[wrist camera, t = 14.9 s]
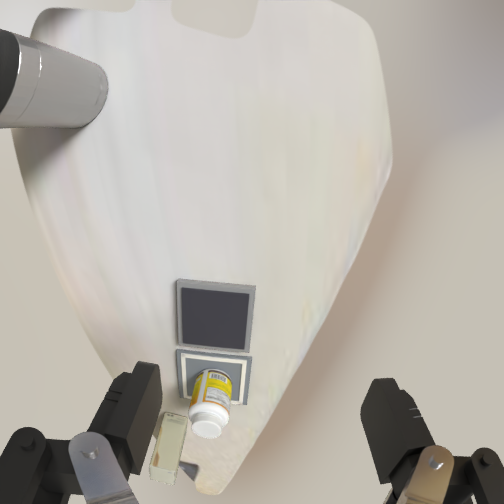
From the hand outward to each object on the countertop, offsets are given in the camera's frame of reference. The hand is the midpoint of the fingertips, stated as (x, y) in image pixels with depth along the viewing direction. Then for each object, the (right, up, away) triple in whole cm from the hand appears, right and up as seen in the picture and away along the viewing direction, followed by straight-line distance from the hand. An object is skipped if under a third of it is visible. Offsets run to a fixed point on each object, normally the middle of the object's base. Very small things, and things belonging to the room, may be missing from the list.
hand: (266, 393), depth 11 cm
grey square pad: (-6, -14, +35) cm, 38 cm away
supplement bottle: (-6, -14, +34) cm, 38 cm away
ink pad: (-5, -3, +31) cm, 32 cm away
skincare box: (-15, -26, +39) cm, 49 cm away
